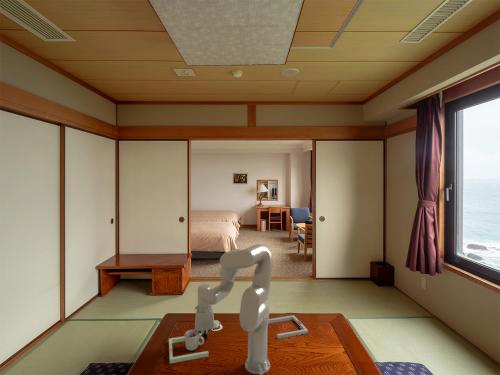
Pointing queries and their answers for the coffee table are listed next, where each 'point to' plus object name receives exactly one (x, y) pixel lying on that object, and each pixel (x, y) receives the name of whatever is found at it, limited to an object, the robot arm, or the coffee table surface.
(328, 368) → the coffee table surface
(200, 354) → the mint green u-frame
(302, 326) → the grey u-frame
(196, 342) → the cup
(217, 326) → the white curved piece
